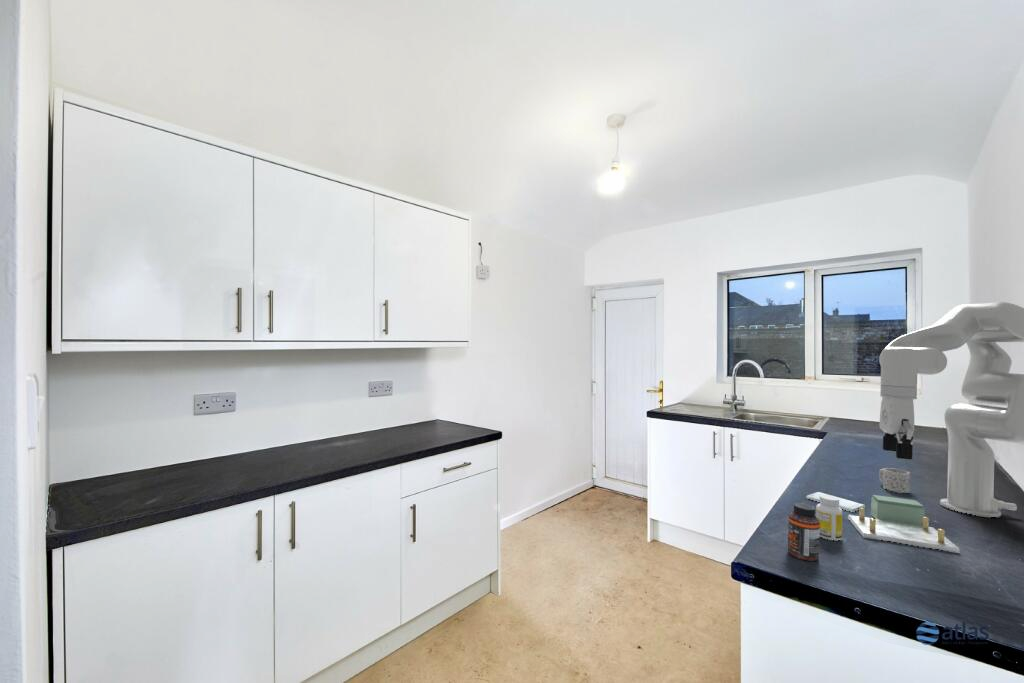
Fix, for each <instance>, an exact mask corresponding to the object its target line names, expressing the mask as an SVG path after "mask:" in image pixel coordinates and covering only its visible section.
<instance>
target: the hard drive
mask: <svg viewBox="0 0 1024 683" xmlns="http://www.w3.org/2000/svg"><path fill="white" fill-rule="evenodd" d="M820 495H829V496H833V497H836V498H838V499H839V505H838V507H839V508H841V509H843V510H842V511H845V510H846V512H849V511H850V513H852V512H853V513H856V512H859V511H858V510H859V508H860V507H861V508H865V509H866V504H862V503H859V502H856V501H853V500H848V499H846V498H842V497H838V496H835V495H830V494H827V493H824V492H821V491H816V492H814V493H810V494H808V495H806V497H805V499H806V498H807V499H806V500H808V499H811V500H814V501H813V502H815V501H817V502H816V503H818V502H820V500H819V499H820ZM811 500H810V501H811ZM820 503H821V502H820ZM820 503H819V504H820ZM855 511H856V512H855Z"/></svg>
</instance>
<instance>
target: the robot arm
mask: <svg viewBox="0 0 1024 683" xmlns="http://www.w3.org/2000/svg"><path fill="white" fill-rule="evenodd" d="M998 343H1024V307H1022V306H1020V305H1017V304H1014V303H1011V302H1005V301H996V302H977V303H965V304H960V305H958V306H956V307H954V308H952V309H951V310H950V311H949V312H947V313H946V314H945V315H944V316H942V318H940V319H939V320H938V321H937V322H935V323H934V324H933V325H931V326H927V327H924V328H921V329H919V330H915V331H912V332H909V333H907V334H904V335H903V334H902V335H901V336H899V337H897V338H895V339H893V340H892V341H891V342H890V343H888V345H886V346H885V347H884V348H883V349H882V351H881V353H880V355H879V358H878V362H879V365H880V392H879V393H880V397H881V402H880V413H879V429H880V430H881V431H883V432H882V450H883V451H889V452H895V457H896V458H897V459H899V460H900V459H903V460H912V459H913V445H914V432H915V406H914V400H917V399H918V398H917V396H918V394H917V393H918V375H925V376H926V375H929V376H930V375H931V376H932V375H937V374H939V373H941V372H943V371H945V369H946V367H947V366H948V357H947V356H946V354H945V353H944V352H948V351H952V350H957V349H959V348H961V347H962V346H964V345H965V344H966V345H967V348H968V349H969V353H970V360H969V364H968V367H967V370H966V372H965V376H964V379H963V382H962V385H961V395H962V397H963V398H964V399H966V400H968V401H970V402H974V404H973V403H955V404H952V405H950V406H948V407H947V409H946V410H945V412H944V422H945V427H946V432H947V442H948V444H947V445H948V448H947V449H948V450H947V452H948V453H947V455H948V456H947V485H946V486H947V490H946V494H947V495H946V496H947V497H946V498H941V499H940V500H939V504H940V506H942V507H944V508H946V509H948V508H949V509H948V510H951V511H954V510H955V511H954V512H957V511H958V513H961V512H962V514H965V513H967V514H966V515H969V514H972V515H971V516H975V515H976V517H983V518H991V517H996V518H1001V516H1002V512H1001V510H1003V509H1004V510H1007V511H1008V510H1010V511H1014V512H1015V511H1017V509H1018V506H1017V504H1016V503H1013V502H1012V503H1011V502H1005V501H1004V500H998V499H996V498H995V497H994V488H995V487H994V484H995V483H994V482H995V480H994V479H995V453H994V450H993V448H992V447H991V445H990V443H988V442H987V440H995V441H1000V442H1006V443H1014V444H1018V443H1023V442H1024V373H1013V372H1012V373H1010V370H1011V367H1012V362H1013V361H1012V357H1011V356H1010V355H1009V354H1008V353H1007V352H1006V351H1005V349H1003V348H1002V347H1001V346H1000V345H999V344H998ZM975 403H980V404H975ZM984 404H987V405H984ZM990 405H991V406H990ZM992 405H996V406H992ZM1000 406H1005V407H1000ZM986 439H987V440H986Z"/></svg>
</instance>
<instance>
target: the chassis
mask: <svg viewBox="0 0 1024 683" xmlns="http://www.w3.org/2000/svg"><path fill="white" fill-rule="evenodd" d="M847 517H848V518H847V519H848V521H849V520H850V521H849V522H850V523H851V525H853V526H854V528H855V529H856V531H858V533H860V535H861V537H863V538H864V539H870V540H875V539H876V541H877V540H878V541H881V540H883V541H882V542H887V541H891V542H890V543H893V542H897V543H896V544H899V543H902V544H901V545H905V544H908V545H907V546H911V545H913V547H917V546H919V547H918V548H923V547H925V548H924V549H929V548H932V549H931V550H935V549H939V550H938V551H941V550H943V552H947V551H948V552H949V553H954V554H960V548H959V546H957V545H956V544H954V542H952V541H951V540H950V539H948V538H947V537H946V536H945V534H946V530H945V529H943V528H937V529H935V527H932V526H929V522H930V518H929V517H928V516H925V517H922V526H920V525H914V524H907V523H901V522H894V521H887V520H881V519H874V518H873V517H867V516H866V507H865V508H861V507H860V508H859V511H858V515H853V514H848V516H847Z"/></svg>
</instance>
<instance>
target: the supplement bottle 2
mask: <svg viewBox="0 0 1024 683" xmlns="http://www.w3.org/2000/svg"><path fill="white" fill-rule="evenodd" d="M829 495H830V494H828V495H820V499H819V500H820V502H821V503H818V504H816V506H815V516H816V517H817V518H818V519H819V520H820V538H821V537H822V539H825V540H827V539H828V541H833V540H834V542H837V541H838V540H840V541H842V540H843V519H844V518H843V515H844V514H843V510H842V509H841V508H839V507H838V505H839V499H838V498H836V497H837V496H835V497H833V496H834V495H831V496H829ZM838 542H839V541H838Z"/></svg>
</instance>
